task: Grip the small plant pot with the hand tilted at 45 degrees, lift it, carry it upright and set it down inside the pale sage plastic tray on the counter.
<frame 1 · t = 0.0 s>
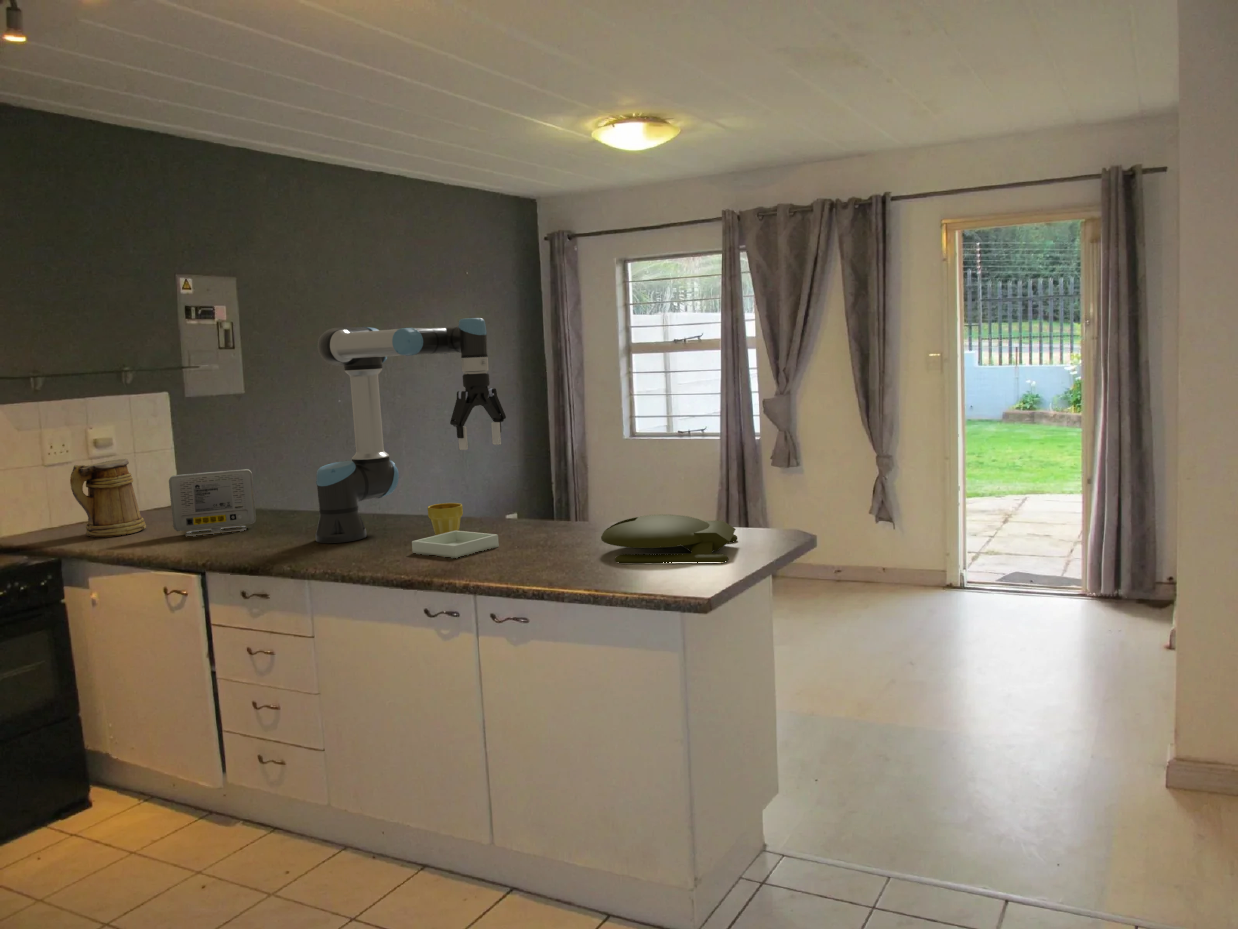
hand: (480, 447, 284), 28 cm above the worktop, tool pointing down, fingers open, 13 cm apart
tray: (455, 550, 279), on the worktop
plant pot: (447, 538, 300), on the worktop
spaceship: (667, 554, 263), on the worktop
tankard: (110, 534, 338), on the worktop
network device: (216, 532, 331), on the worktop
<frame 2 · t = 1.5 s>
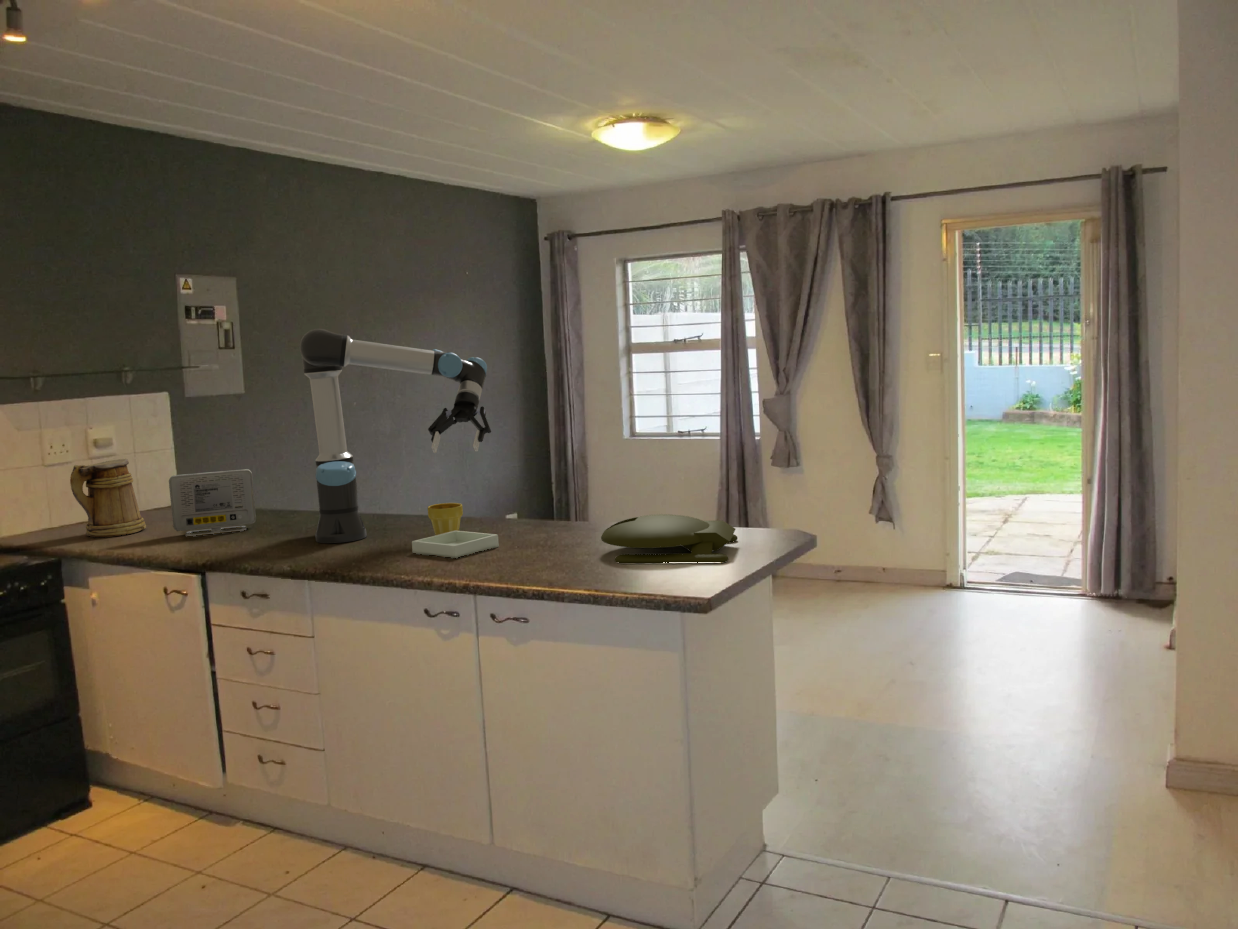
hand: (454, 449, 307), 25 cm above the worktop, tool tilted 45°, fingers open, 13 cm apart
nothing on the worktop moved.
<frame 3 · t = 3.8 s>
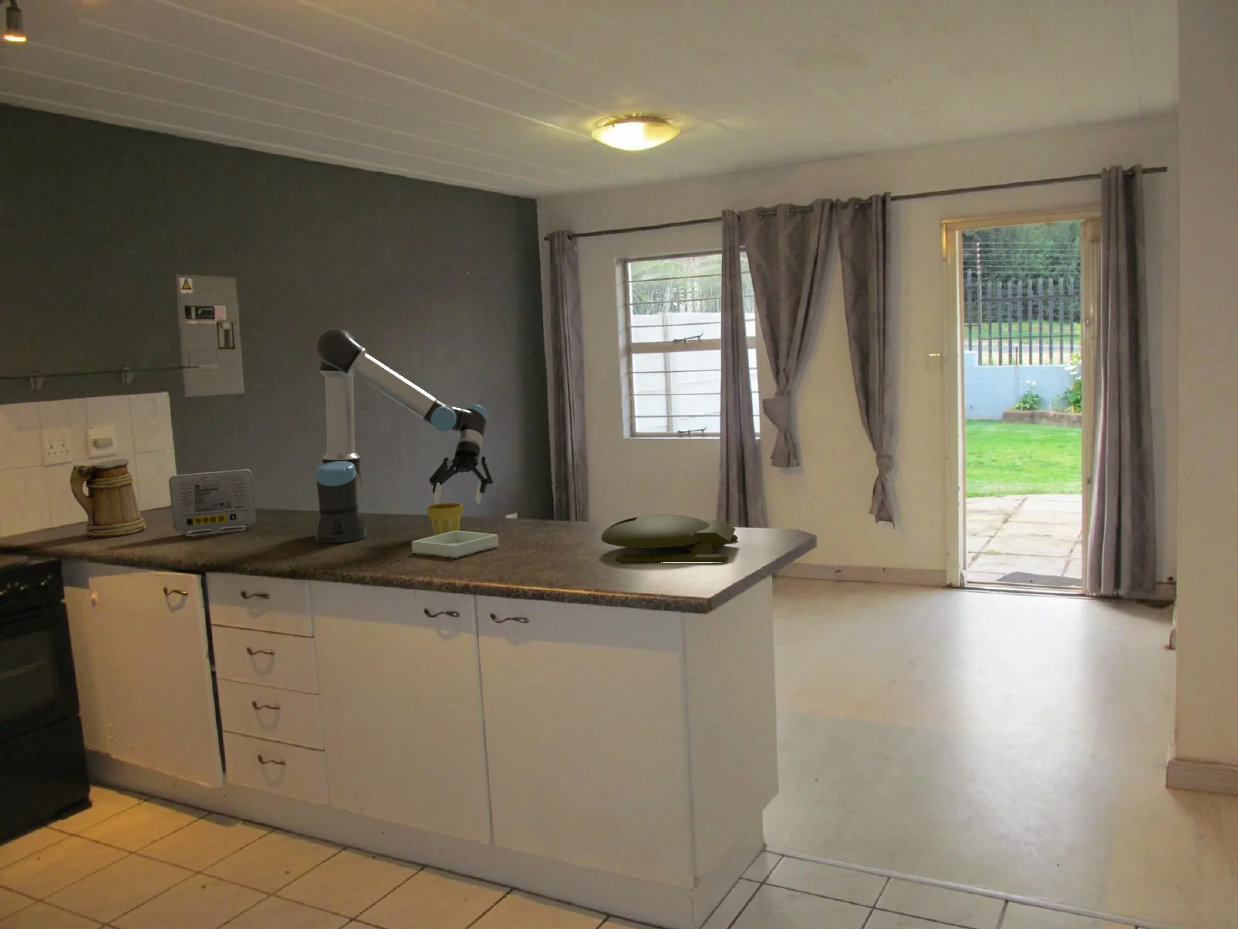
hand: (456, 501, 304), 10 cm above the worktop, tool tilted 45°, fingers open, 13 cm apart
nothing on the worktop moved.
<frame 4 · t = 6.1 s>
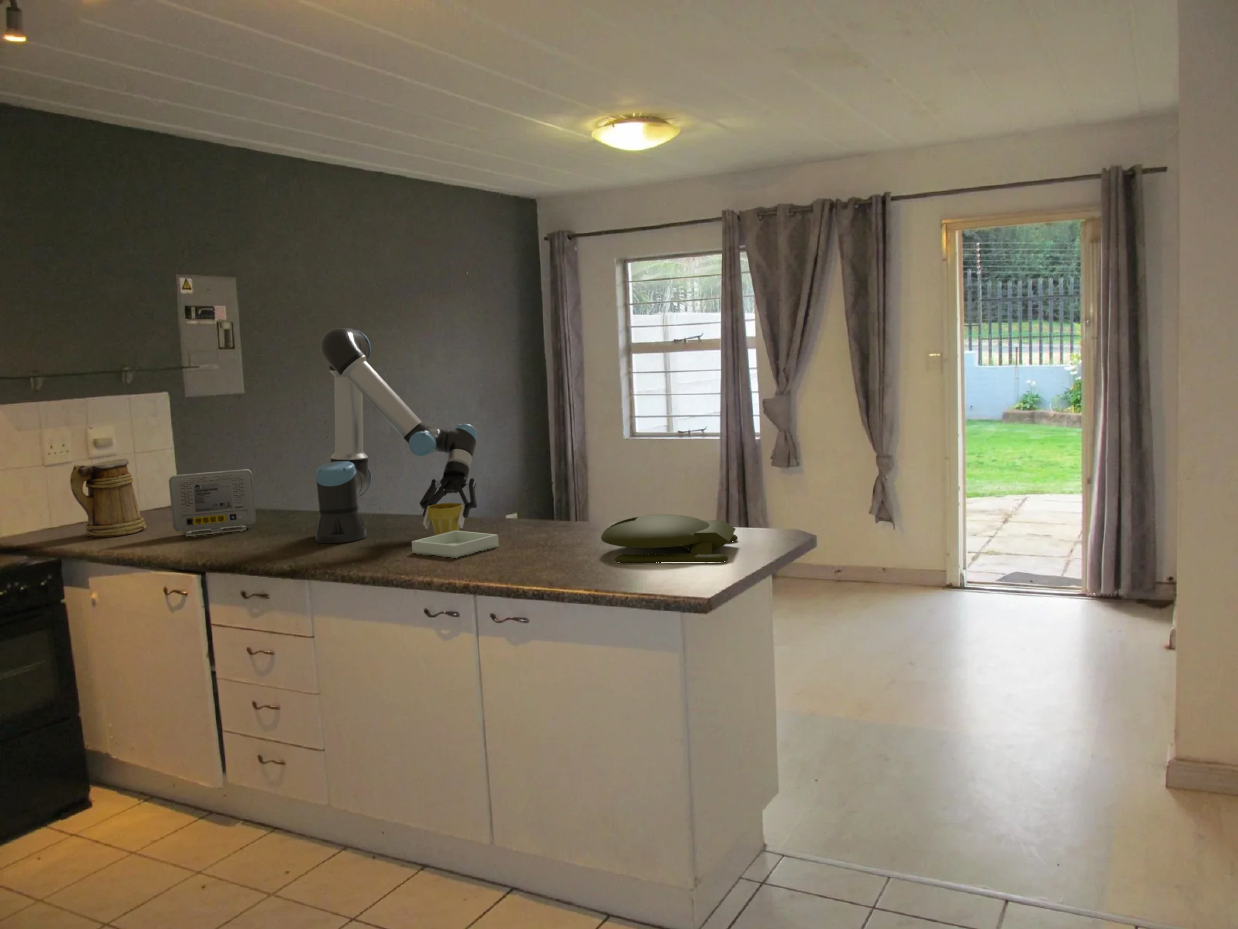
hand: (442, 526, 296), 4 cm above the worktop, tool tilted 45°, fingers closed on plant pot, 10 cm apart
plant pot: (447, 538, 300), on the worktop, touching gripper
everything else where it was.
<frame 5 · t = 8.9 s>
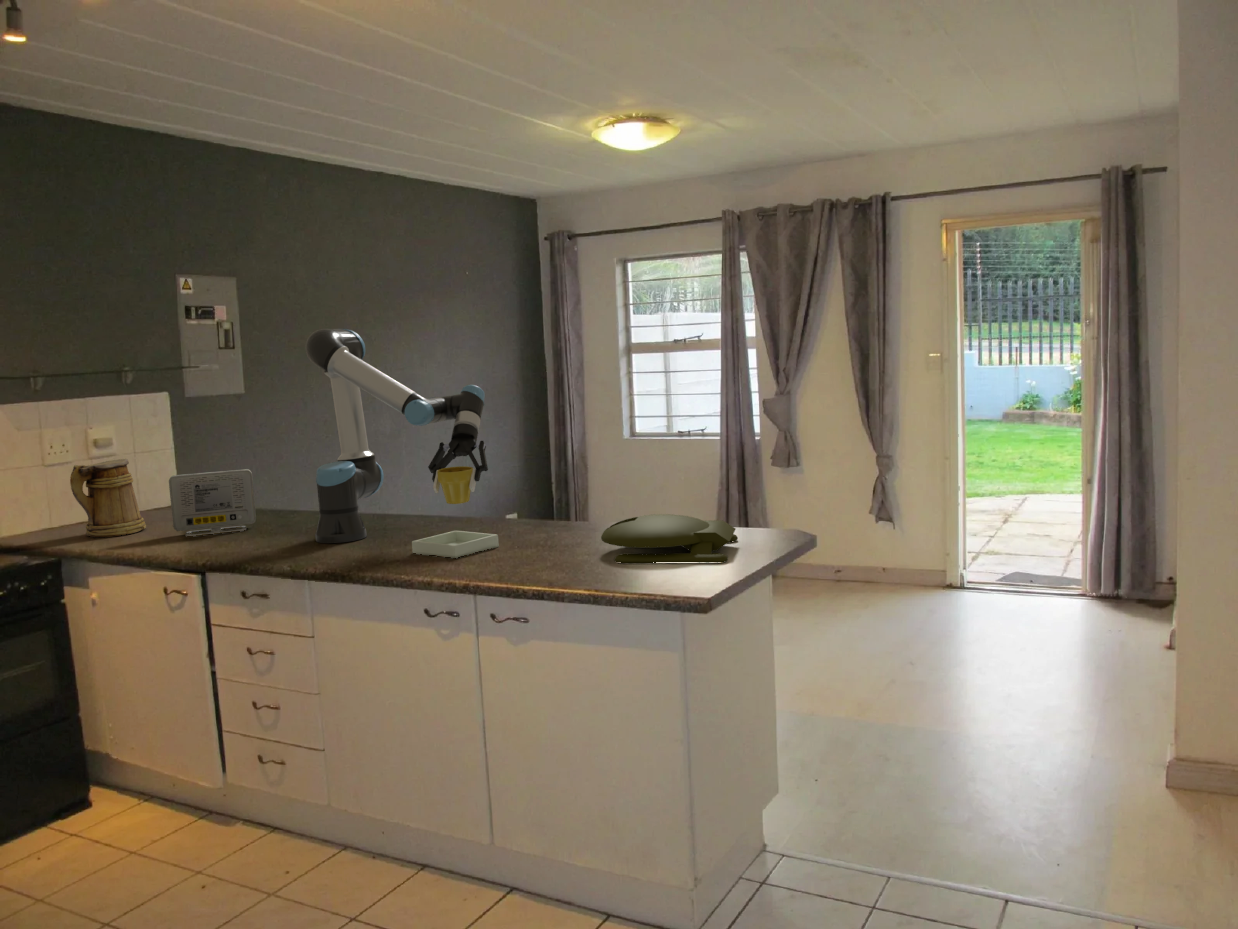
hand: (453, 490, 286), 16 cm above the worktop, tool tilted 45°, fingers closed on plant pot, 10 cm apart
plant pot: (458, 502, 289), point 12 cm above the worktop, touching gripper
everything else where it was.
when the fingers open (6 cm above the worktop, at t = 12.0 s): plant pot drops 1 cm, resting on tray.
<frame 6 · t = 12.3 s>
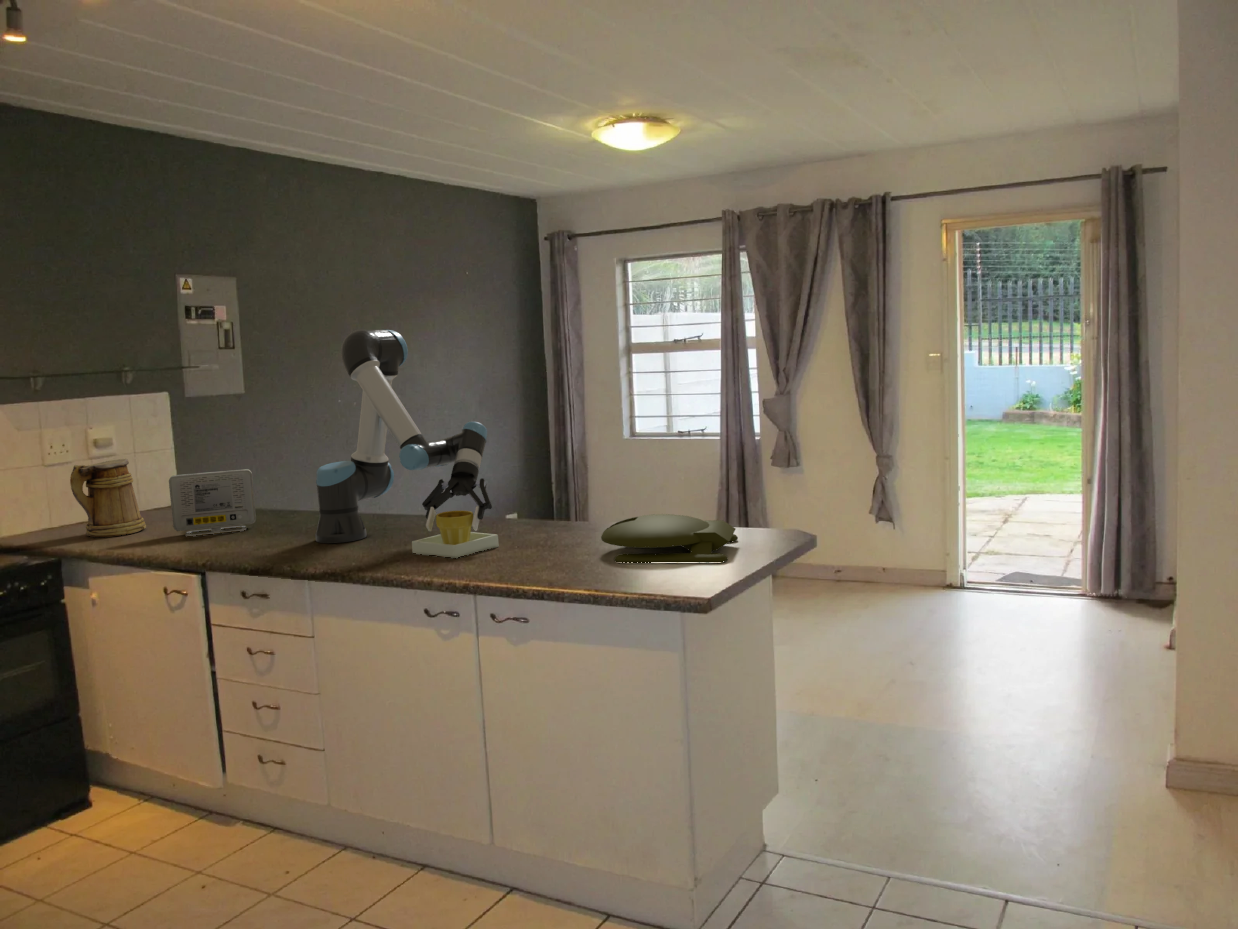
hand: (451, 528, 276), 7 cm above the worktop, tool tilted 45°, fingers open, 13 cm apart
plant pot: (456, 548, 279), resting on tray
everything else where it was.
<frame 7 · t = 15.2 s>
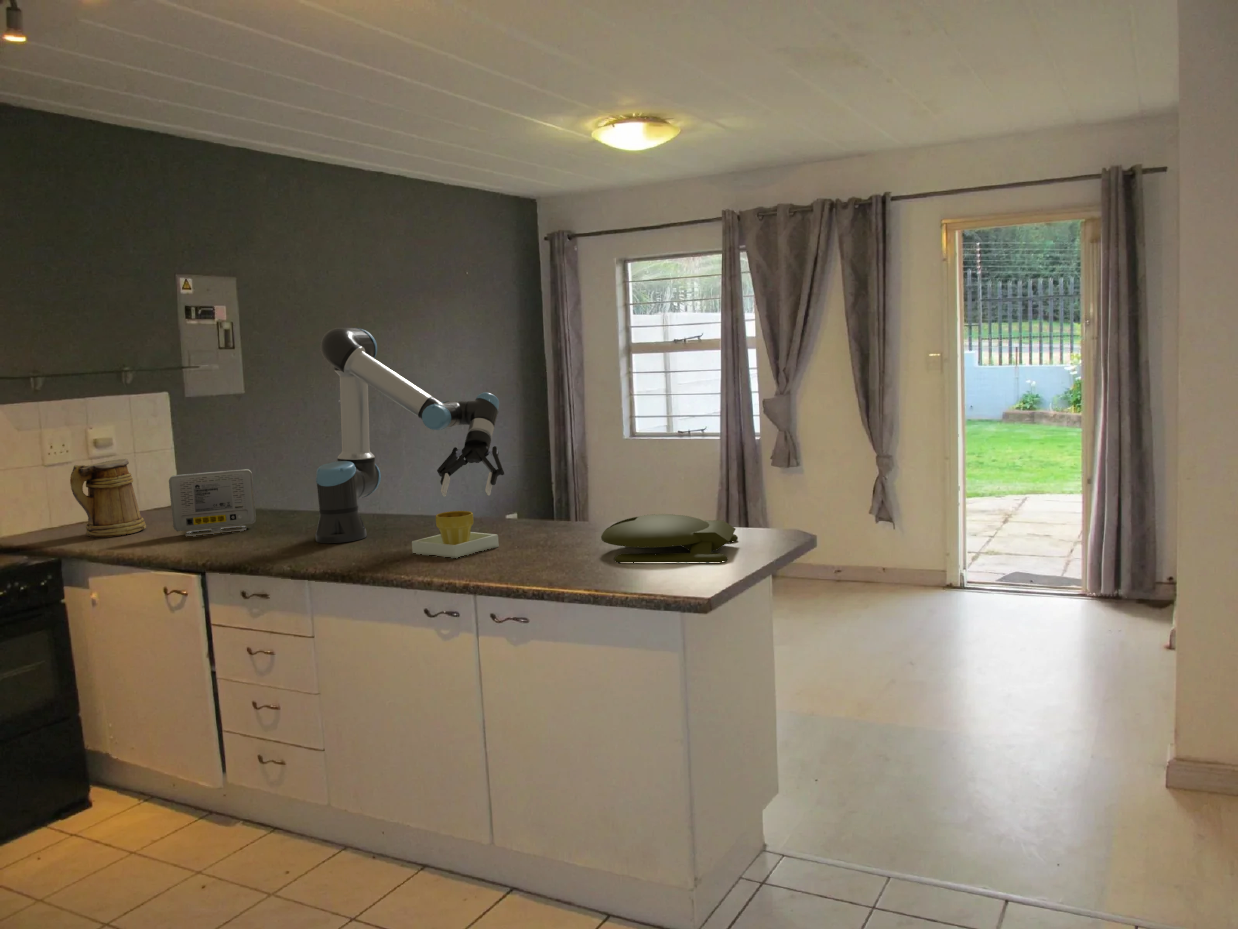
hand: (465, 493, 288), 15 cm above the worktop, tool tilted 45°, fingers open, 13 cm apart
nothing on the worktop moved.
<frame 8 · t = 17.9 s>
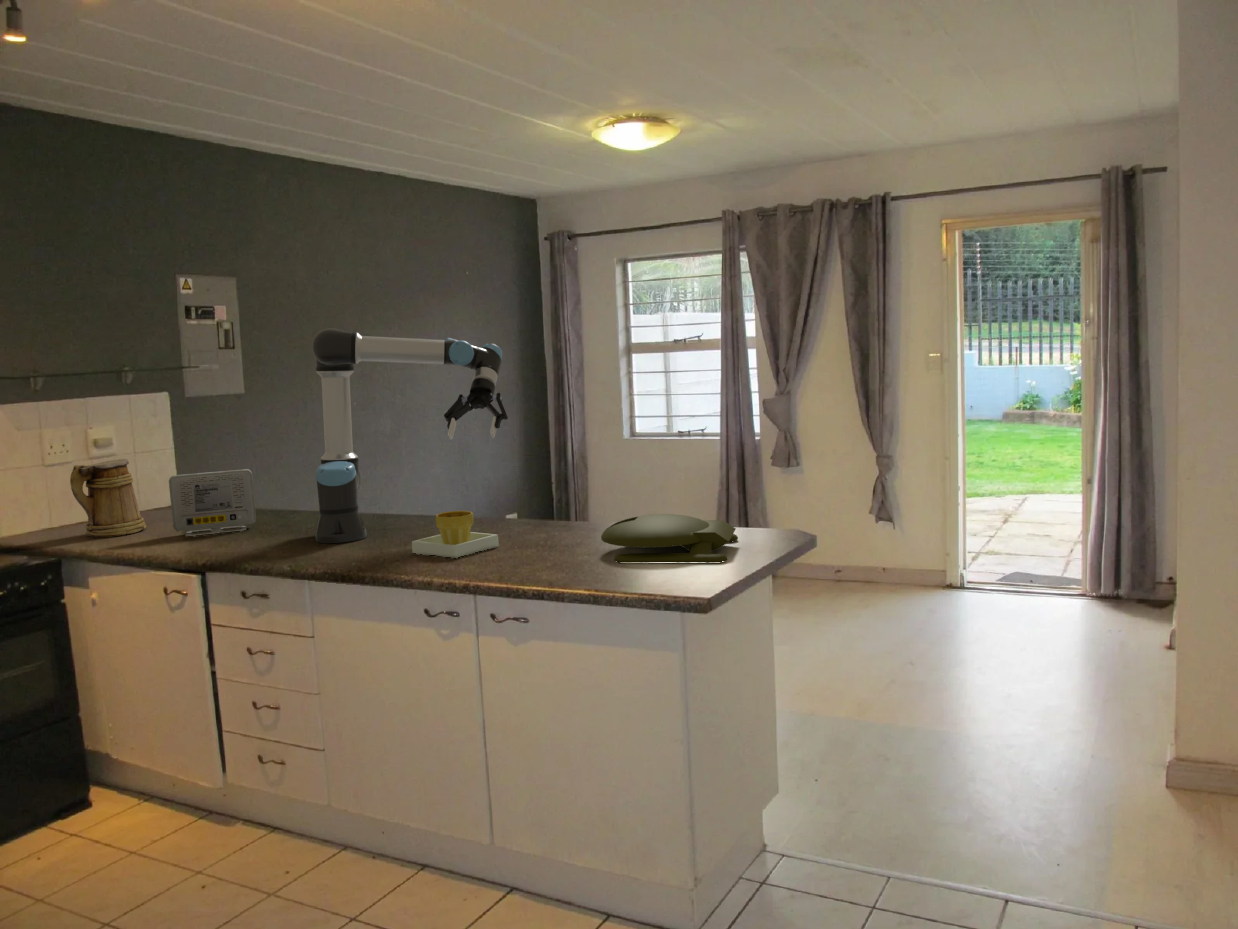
hand: (470, 436, 304), 30 cm above the worktop, tool tilted 45°, fingers open, 13 cm apart
nothing on the worktop moved.
at the end: plant pot inside the target area on the tray (0.2 cm from its centre), point 0.4 cm above the tray's base; plant pot tilted 0°; the gripper is holding nothing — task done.
